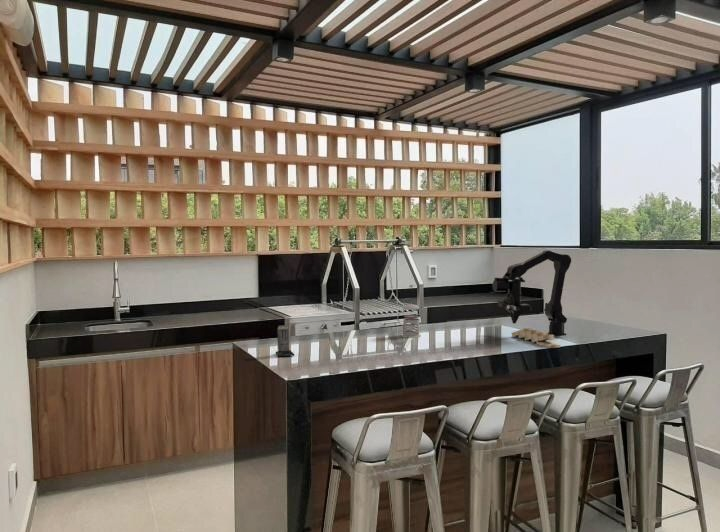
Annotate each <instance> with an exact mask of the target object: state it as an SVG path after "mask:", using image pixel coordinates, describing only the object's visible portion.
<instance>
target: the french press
mask: <svg viewBox="0 0 720 532" xmlns="http://www.w3.org/2000/svg"><path fill="white" fill-rule="evenodd" d="M409 288H414V285H413V284H410V285H409ZM402 309H403V310H400V311H399V312H398V314H397V322H398V324H399V325H400V326H401V327H402V334H401V335H402V336H403V338H407V337H411V339H412V338H414V337H415V338H416V337H417V338H421V337H422V335H421V334H420V318H419V315H416V314H414V315H413V314H406V315H404V313H405V312H404V310H406V311H408V310H410V311H413V310H415V311H417V310H420V307H419V306H418V305H414V304H413V303H410V304H408V305H405V306H404V307H402ZM401 313H402V314H403V315H404V316H403V319H402V320H403V321H402V322H403V324H402V323H400V321H399V315H400V314H401ZM402 336H401V337H402Z"/></svg>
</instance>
